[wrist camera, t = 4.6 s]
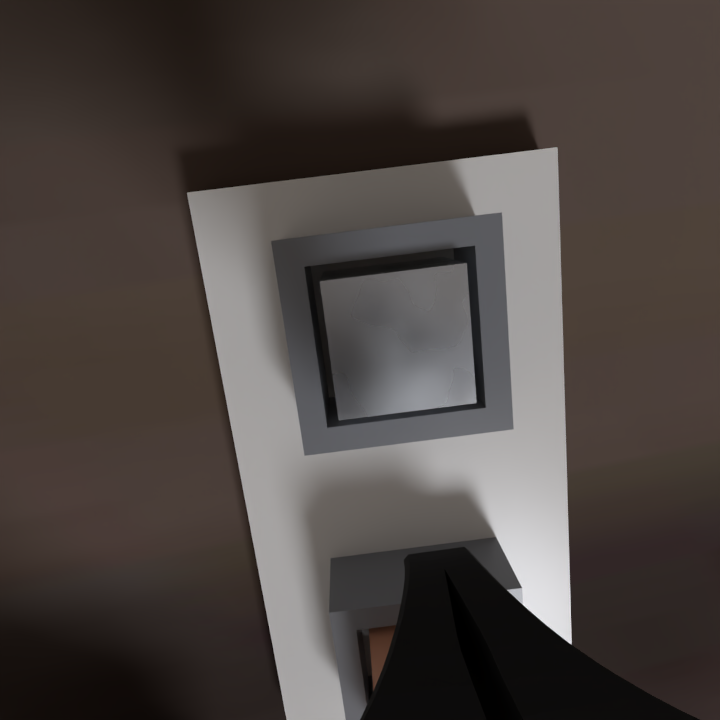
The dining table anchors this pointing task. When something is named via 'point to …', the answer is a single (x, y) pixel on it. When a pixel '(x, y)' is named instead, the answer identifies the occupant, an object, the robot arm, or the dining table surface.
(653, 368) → the dining table surface
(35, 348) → the dining table surface
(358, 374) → the button grey
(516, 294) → the console
